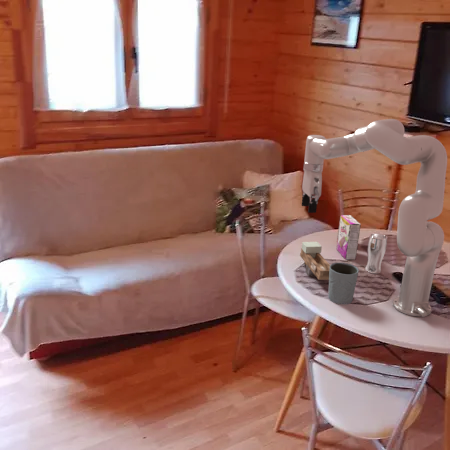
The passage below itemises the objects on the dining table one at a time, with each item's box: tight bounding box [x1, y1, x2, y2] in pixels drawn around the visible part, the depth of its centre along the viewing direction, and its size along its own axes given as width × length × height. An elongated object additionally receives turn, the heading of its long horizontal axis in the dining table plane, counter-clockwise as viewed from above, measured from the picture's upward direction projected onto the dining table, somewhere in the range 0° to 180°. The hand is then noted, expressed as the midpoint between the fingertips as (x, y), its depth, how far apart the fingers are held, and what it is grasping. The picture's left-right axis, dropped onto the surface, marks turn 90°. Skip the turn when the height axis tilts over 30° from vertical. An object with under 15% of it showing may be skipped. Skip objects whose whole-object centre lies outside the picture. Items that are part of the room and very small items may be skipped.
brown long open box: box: [299, 247, 331, 281], centre depth 195 cm, size 22×7×7 cm, turn 10°
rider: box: [301, 241, 323, 258], centre depth 200 cm, size 5×6×5 cm
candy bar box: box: [336, 214, 362, 261], centre depth 212 cm, size 11×5×16 cm, turn 9°
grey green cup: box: [327, 262, 360, 305], centre depth 176 cm, size 10×10×12 cm
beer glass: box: [364, 232, 388, 274], centre depth 199 cm, size 7×7×15 cm
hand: (308, 208), depth 202 cm, fingers open, 7 cm apart
